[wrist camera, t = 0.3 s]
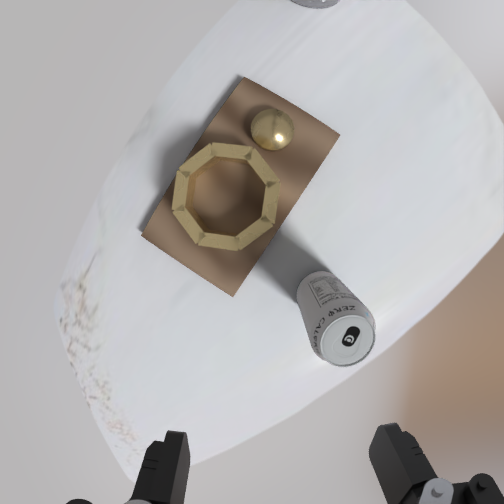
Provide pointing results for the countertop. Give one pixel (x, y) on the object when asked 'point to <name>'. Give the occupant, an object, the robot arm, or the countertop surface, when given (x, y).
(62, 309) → the countertop surface
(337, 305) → the energy drink can
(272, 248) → the countertop surface
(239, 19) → the countertop surface
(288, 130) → the brass socket ring
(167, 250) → the walnut carrier plate
